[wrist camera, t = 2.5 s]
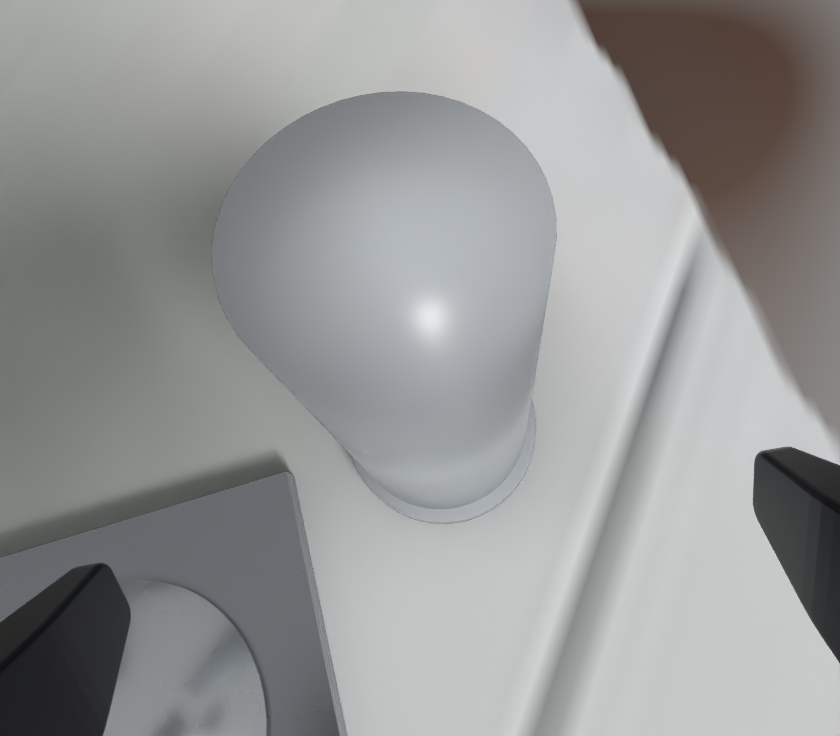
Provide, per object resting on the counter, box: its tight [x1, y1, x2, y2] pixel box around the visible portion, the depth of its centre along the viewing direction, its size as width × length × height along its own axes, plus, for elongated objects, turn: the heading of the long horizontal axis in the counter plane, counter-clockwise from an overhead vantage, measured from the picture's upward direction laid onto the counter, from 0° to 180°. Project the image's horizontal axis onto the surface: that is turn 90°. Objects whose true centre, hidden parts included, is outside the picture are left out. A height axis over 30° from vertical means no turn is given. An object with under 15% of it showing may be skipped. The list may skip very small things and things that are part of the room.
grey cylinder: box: [212, 92, 557, 524], centre depth 15 cm, size 6×6×12 cm
